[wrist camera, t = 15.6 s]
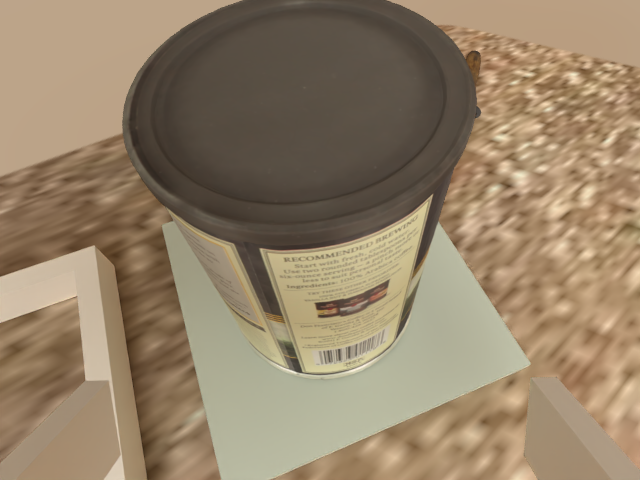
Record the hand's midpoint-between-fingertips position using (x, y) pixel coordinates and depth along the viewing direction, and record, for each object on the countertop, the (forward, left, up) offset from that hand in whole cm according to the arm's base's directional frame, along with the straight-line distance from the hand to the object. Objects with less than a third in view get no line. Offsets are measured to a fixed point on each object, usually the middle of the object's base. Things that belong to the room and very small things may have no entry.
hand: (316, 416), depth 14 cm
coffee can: (-1, +8, -8) cm, 12 cm away
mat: (-1, +8, -9) cm, 12 cm away
